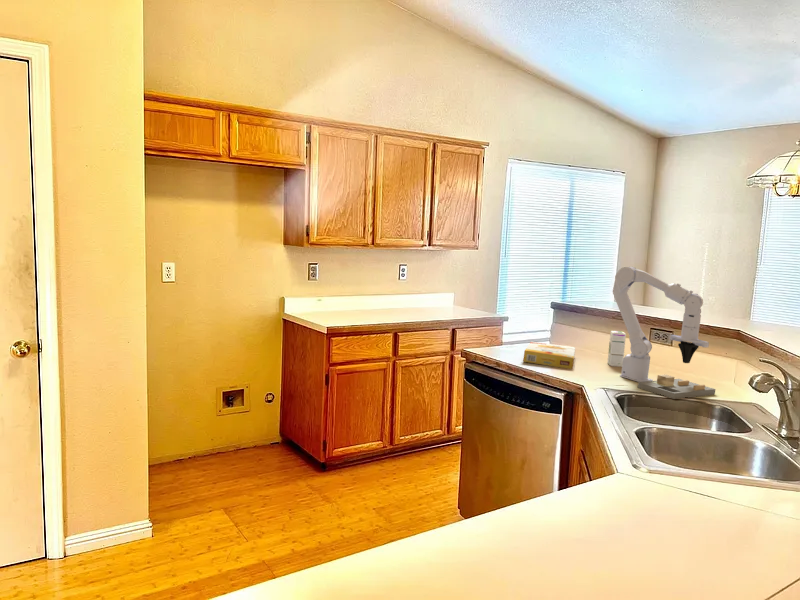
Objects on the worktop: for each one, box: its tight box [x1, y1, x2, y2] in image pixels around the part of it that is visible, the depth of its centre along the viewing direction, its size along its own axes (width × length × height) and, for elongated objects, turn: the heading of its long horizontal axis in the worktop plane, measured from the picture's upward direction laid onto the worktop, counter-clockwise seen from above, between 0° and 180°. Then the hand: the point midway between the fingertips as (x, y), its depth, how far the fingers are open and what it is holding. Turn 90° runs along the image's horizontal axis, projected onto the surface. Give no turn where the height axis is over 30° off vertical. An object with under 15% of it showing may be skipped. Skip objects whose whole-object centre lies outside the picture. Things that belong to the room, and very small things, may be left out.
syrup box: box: [607, 330, 627, 368], centre depth 252 cm, size 6×6×14 cm
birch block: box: [656, 373, 675, 386], centre depth 214 cm, size 4×4×3 cm
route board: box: [637, 378, 716, 400], centre depth 213 cm, size 15×22×4 cm
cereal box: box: [522, 341, 576, 370], centre depth 255 cm, size 20×6×28 cm
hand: (686, 362), depth 219 cm, fingers closed
